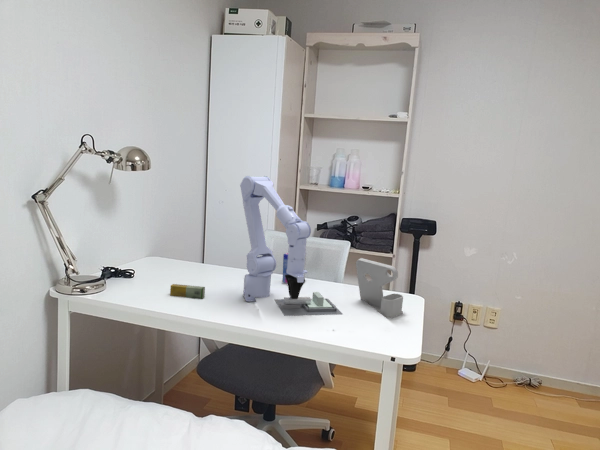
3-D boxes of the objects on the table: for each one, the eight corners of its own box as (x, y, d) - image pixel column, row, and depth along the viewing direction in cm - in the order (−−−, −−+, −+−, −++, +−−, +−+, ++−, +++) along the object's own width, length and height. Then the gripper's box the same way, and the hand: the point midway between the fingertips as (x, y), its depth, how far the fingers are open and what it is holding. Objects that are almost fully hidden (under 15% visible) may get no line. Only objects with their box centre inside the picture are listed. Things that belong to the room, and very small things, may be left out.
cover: (309, 310, 154) (310, 298, 153) (303, 302, 161) (303, 291, 161) (332, 310, 156) (333, 298, 155) (324, 302, 164) (325, 291, 163)
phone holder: (404, 313, 163) (410, 263, 160) (389, 319, 156) (394, 267, 153) (364, 300, 175) (369, 253, 172) (348, 305, 167) (352, 256, 164)
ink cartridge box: (294, 277, 198) (296, 244, 196) (305, 280, 195) (307, 247, 193) (281, 282, 190) (283, 247, 187) (292, 285, 187) (294, 250, 184)
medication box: (205, 297, 165) (205, 286, 164) (202, 299, 162) (203, 288, 161) (172, 294, 166) (172, 283, 165) (169, 296, 163) (169, 285, 162)
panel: (284, 320, 148) (284, 312, 147) (273, 303, 163) (274, 296, 162) (342, 318, 153) (343, 310, 153) (327, 302, 168) (328, 295, 168)
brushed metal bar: (285, 303, 154) (286, 290, 154) (283, 301, 156) (284, 288, 156) (311, 303, 157) (312, 290, 156) (309, 301, 159) (310, 288, 158)
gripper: (314, 263, 148) (311, 304, 150) (302, 253, 162) (299, 290, 164) (292, 263, 146) (289, 304, 148) (282, 252, 160) (279, 290, 162)
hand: (293, 297), depth 156 cm, fingers closed on brushed metal bar, 2 cm apart
